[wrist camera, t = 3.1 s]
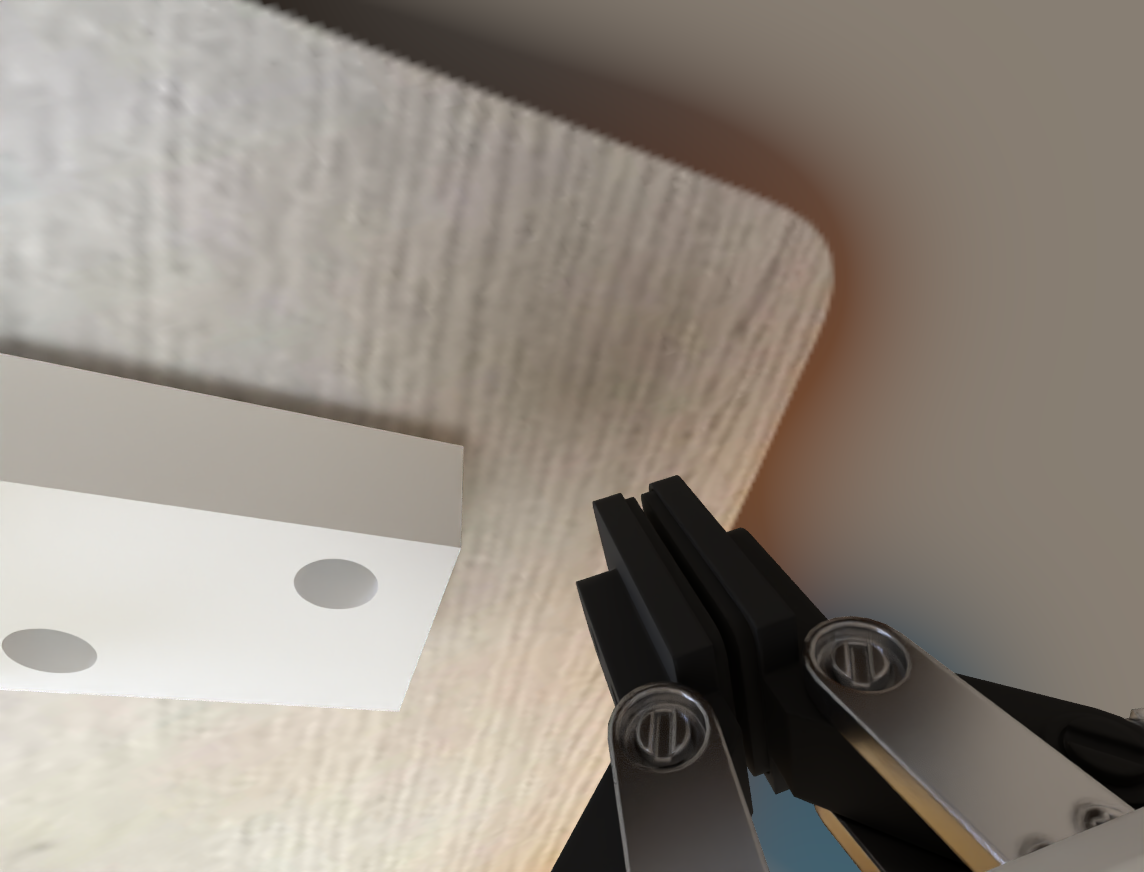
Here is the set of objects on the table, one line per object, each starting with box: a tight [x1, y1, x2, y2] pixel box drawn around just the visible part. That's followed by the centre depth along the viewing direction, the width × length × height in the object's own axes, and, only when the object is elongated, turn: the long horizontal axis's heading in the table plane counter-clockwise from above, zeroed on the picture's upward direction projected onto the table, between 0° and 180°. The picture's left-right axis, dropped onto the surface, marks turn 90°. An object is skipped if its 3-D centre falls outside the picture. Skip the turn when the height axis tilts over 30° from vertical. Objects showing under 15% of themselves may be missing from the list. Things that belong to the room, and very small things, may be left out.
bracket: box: [0, 353, 464, 712], centre depth 13 cm, size 13×7×8 cm, turn 71°
